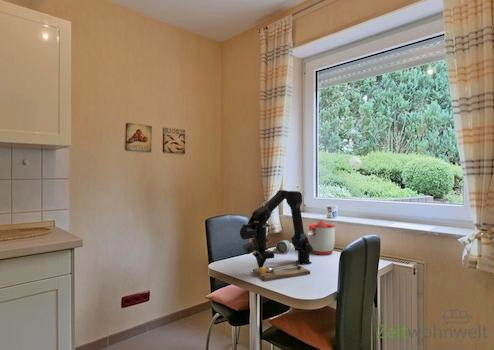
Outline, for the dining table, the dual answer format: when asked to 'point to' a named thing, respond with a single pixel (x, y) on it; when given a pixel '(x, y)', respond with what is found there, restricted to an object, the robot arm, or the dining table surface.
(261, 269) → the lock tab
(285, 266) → the tong arm
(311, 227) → the citrus juicer
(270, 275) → the tong board
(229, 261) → the dining table surface
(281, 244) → the ceramic mug
